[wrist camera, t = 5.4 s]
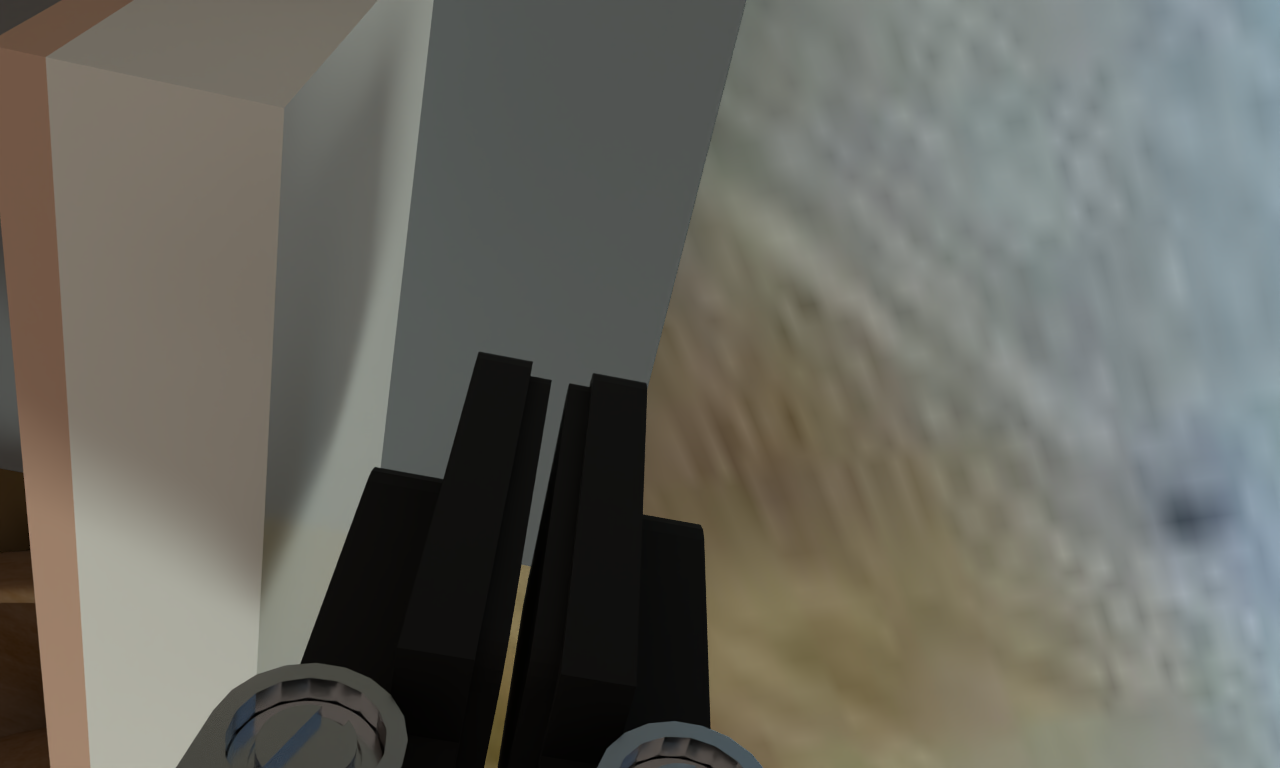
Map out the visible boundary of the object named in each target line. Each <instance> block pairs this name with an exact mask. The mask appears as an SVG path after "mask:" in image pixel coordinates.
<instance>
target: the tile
mask: <svg viewBox="0 0 1280 768" xmlns="http://www.w3.org/2000/svg"><path fill="white" fill-rule="evenodd" d="M433 2H434V0H61V1H59V2H58V3H56V4H54V5H52V6H51V7H49V8H47V9H45V10H44V11H42V12H40V13H38V14H37V15H35V16H33V17H31V18H30V19H28V20H26V21H24V22H23V23H21V24H19V25H17V26H16V27H14V28H12V29H10V30H9V31H7V32H5V33H3V34H2V35H0V219H1V230H2V241H3V252H4V263H5V274H6V285H7V296H8V307H9V318H10V329H11V340H12V351H13V362H14V373H15V384H16V395H17V406H18V417H19V428H20V439H21V450H22V461H23V472H24V483H25V494H26V505H27V516H28V527H29V538H30V549H31V560H32V571H33V582H34V593H35V604H36V615H37V626H38V637H39V648H40V659H41V670H42V681H43V692H44V703H45V714H46V725H47V736H48V747H49V758H50V768H176V767H177V765H178V763H179V762H180V760H181V759H182V757H183V756H184V754H185V753H186V751H187V750H188V748H189V747H190V745H191V743H192V742H193V740H194V739H195V737H196V736H197V734H198V733H199V731H200V730H201V728H202V727H203V725H204V723H205V722H206V720H207V719H208V717H209V716H210V714H211V713H212V711H213V710H214V709H215V708H216V707H217V705H218V704H219V703H220V702H221V701H222V700H223V699H224V698H225V697H226V695H227V694H228V693H229V692H230V691H231V690H232V689H234V688H235V687H237V686H239V685H240V684H242V683H243V682H245V681H247V680H248V679H250V678H252V677H253V676H255V675H257V674H259V673H263V672H266V671H269V670H272V669H275V668H279V667H282V666H285V665H295V664H300V663H301V660H302V657H303V655H304V652H305V649H306V647H307V644H308V641H309V638H310V636H311V633H312V630H313V627H314V625H315V622H316V619H317V616H318V614H319V611H320V608H321V606H322V603H323V600H324V597H325V595H326V592H327V589H328V586H329V584H330V581H331V578H332V575H333V573H334V570H335V567H336V564H337V562H338V559H339V556H340V554H341V551H342V548H343V545H344V543H345V540H346V537H347V534H348V532H349V529H350V526H351V523H352V521H353V518H354V515H355V513H356V510H357V507H358V504H359V502H360V499H361V496H362V493H363V491H364V488H365V485H366V482H367V480H368V478H369V475H370V473H371V471H372V469H373V468H374V467H379V468H381V459H382V450H383V442H384V433H385V424H386V415H387V407H388V398H389V389H390V380H391V371H392V363H393V354H394V345H395V336H396V327H397V319H398V310H399V301H400V292H401V283H402V275H403V266H404V257H405V248H406V239H407V231H408V222H409V213H410V204H411V195H412V187H413V178H414V169H415V160H416V151H417V143H418V134H419V125H420V116H421V107H422V99H423V90H424V81H425V72H426V63H427V55H428V46H429V37H430V28H431V19H432V11H433Z"/></svg>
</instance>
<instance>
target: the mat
mask: <svg viewBox="0 0 1280 768" xmlns="http://www.w3.org/2000/svg"><path fill="white" fill-rule="evenodd" d="M59 1H61V0H0V35H2V34H3V33H5V32H7V31H9V30H10V29H12V28H14V27H16V26H17V25H19V24H21V23H23V22H24V21H26V20H28V19H30V18H31V17H33V16H35V15H37V14H38V13H40V12H42V11H44V10H45V9H47V8H49V7H51V6H52V5H54V4H56V3H58V2H59ZM745 3H746V0H434V2H433V11H432V19H431V28H430V37H429V46H428V55H427V63H426V72H425V81H424V90H423V99H422V107H421V116H420V125H419V134H418V143H417V151H416V160H415V169H414V178H413V187H412V195H411V204H410V213H409V222H408V231H407V239H406V248H405V257H404V266H403V275H402V283H401V292H400V301H399V310H398V319H397V327H396V336H395V345H394V354H393V363H392V371H391V380H390V389H389V398H388V407H387V415H386V424H385V433H384V442H383V450H382V459H381V468H384V469H390V470H395V471H401V472H407V473H412V474H418V475H423V476H429V477H435V478H440V479H443V478H444V475H445V471H446V467H447V464H448V460H449V457H450V453H451V449H452V446H453V442H454V438H455V435H456V431H457V427H458V424H459V420H460V417H461V413H462V409H463V406H464V402H465V398H466V395H467V391H468V388H469V384H470V380H471V377H472V373H473V369H474V366H475V362H476V359H477V355H478V352H479V351H480V352H485V353H490V354H495V355H501V356H506V357H511V358H517V359H522V360H527V361H533V365H532V370H531V376H534V377H539V378H544V379H550V380H552V382H551V388H550V394H549V400H548V407H547V413H546V419H545V425H544V431H543V437H542V443H541V449H540V455H539V461H538V467H537V473H536V479H535V485H534V491H533V497H532V503H531V509H530V515H529V521H528V527H527V533H526V539H525V545H524V551H523V558H522V565H528V566H531V564H532V559H533V554H534V549H535V544H536V540H537V535H538V530H539V525H540V520H541V515H542V511H543V506H544V501H545V496H546V491H547V486H548V481H549V477H550V472H551V467H552V462H553V457H554V452H555V448H556V443H557V438H558V433H559V428H560V423H561V418H562V414H563V409H564V404H565V399H566V394H567V390H568V386H569V383H571V384H576V385H582V386H587V387H589V385H590V381H591V378H592V374H593V373H596V374H602V375H607V376H612V377H618V378H623V379H628V380H634V381H639V382H644V383H646V384H647V388H648V384H649V380H650V376H651V372H652V368H653V364H654V361H655V357H656V353H657V349H658V345H659V341H660V337H661V333H662V329H663V325H664V321H665V317H666V313H667V309H668V306H669V302H670V298H671V294H672V290H673V286H674V282H675V278H676V274H677V270H678V266H679V262H680V258H681V255H682V251H683V247H684V243H685V239H686V235H687V231H688V227H689V223H690V219H691V215H692V211H693V207H694V204H695V200H696V196H697V192H698V188H699V184H700V180H701V176H702V172H703V168H704V164H705V160H706V156H707V153H708V149H709V145H710V141H711V137H712V133H713V129H714V125H715V121H716V117H717V113H718V109H719V105H720V102H721V98H722V94H723V90H724V86H725V82H726V78H727V74H728V70H729V66H730V62H731V58H732V54H733V50H734V47H735V43H736V39H737V35H738V31H739V27H740V23H741V19H742V15H743V11H744V7H745ZM0 468H1V469H6V470H12V471H17V472H22V473H24V472H23V461H22V450H21V439H20V428H19V417H18V406H17V395H16V384H15V373H14V362H13V351H12V340H11V329H10V318H9V307H8V296H7V285H6V274H5V263H4V252H3V241H2V230H1V219H0Z"/></svg>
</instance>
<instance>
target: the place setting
mask: <svg viewBox="0 0 1280 768" xmlns="http://www.w3.org/2000/svg"><path fill="white" fill-rule="evenodd" d="M0 768H50V758H49V747H48V736H47V725H46V714H45V703H44V692H43V681H42V670H41V659H40V648H39V637H38V626H37V615H36V604H35V593H34V582H33V571H32V560H31V550H27V551H16V552H5V553H0Z"/></svg>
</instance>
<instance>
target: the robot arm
mask: <svg viewBox="0 0 1280 768" xmlns="http://www.w3.org/2000/svg"><path fill="white" fill-rule="evenodd" d="M532 365H533V361H527V360H522V359H517V358H511V357H506V356H501V355H495V354H490V353H485V352H480V351H479V352H478V355H477V359H476V362H475V366H474V369H473V373H472V377H471V380H470V384H469V388H468V391H467V395H466V398H465V402H464V406H463V409H462V413H461V417H460V420H459V424H458V427H457V431H456V435H455V438H454V442H453V446H452V449H451V453H450V457H449V460H448V464H447V467H446V471H445V475H444V478H443V479H440V478H435V477H429V476H423V475H418V474H412V473H407V472H401V471H395V470H390V469H384V468H379V467H374V468H373V469H372V471H371V473H370V475H369V478H368V480H367V482H366V485H365V488H364V491H363V493H362V496H361V499H360V502H359V504H358V507H357V510H356V513H355V515H354V518H353V521H352V523H351V526H350V529H349V532H348V534H347V537H346V540H345V543H344V545H343V548H342V551H341V554H340V556H339V559H338V562H337V564H336V567H335V570H334V573H333V575H332V578H331V581H330V584H329V586H328V589H327V592H326V595H325V597H324V600H323V603H322V606H321V608H320V611H319V614H318V616H317V619H316V622H315V625H314V627H313V630H312V633H311V636H310V638H309V641H308V644H307V647H306V649H305V652H304V655H303V657H302V660H301V663H300V664H295V665H285V666H282V667H279V668H275V669H272V670H269V671H266V672H263V673H259V674H257V675H255V676H253V677H252V678H250V679H248V680H247V681H245V682H243V683H242V684H240V685H239V686H237V687H235V688H234V689H232V690H231V691H230V692H229V693H228V694H227V695H226V697H225V698H224V699H223V700H222V701H221V702H220V703H219V704H218V705H217V707H216V708H215V709H214V710H213V711H212V713H211V714H210V716H209V717H208V719H207V720H206V722H205V723H204V725H203V727H202V728H201V730H200V731H199V733H198V734H197V736H196V737H195V739H194V740H193V742H192V743H191V745H190V747H189V748H188V750H187V751H186V753H185V754H184V756H183V757H182V759H181V760H180V762H179V763H178V765H177V767H176V768H484V765H485V760H486V755H487V750H488V745H489V740H490V735H491V730H492V725H493V720H494V715H495V710H496V705H497V700H498V696H499V690H500V685H501V680H502V675H503V670H504V664H505V659H506V653H507V648H508V642H509V636H510V630H511V624H512V618H513V612H514V606H515V600H516V594H517V588H518V582H519V576H520V570H521V564H522V558H523V551H524V545H525V539H526V533H527V527H528V521H529V515H530V509H531V503H532V497H533V491H534V485H535V479H536V473H537V467H538V461H539V455H540V449H541V443H542V437H543V431H544V425H545V419H546V413H547V407H548V400H549V394H550V388H551V382H552V380H550V379H544V378H539V377H534V376H531V370H532ZM646 408H647V384H646V383H644V382H639V381H634V380H628V379H623V378H618V377H612V376H607V375H602V374H596V373H593V374H592V378H591V381H590V385H589V387H587V386H582V385H576V384H571V383H569V386H568V390H567V394H566V399H565V404H564V409H563V414H562V418H561V423H560V428H559V433H558V438H557V443H556V448H555V452H554V457H553V462H552V467H551V472H550V477H549V481H548V486H547V491H546V496H545V501H544V506H543V511H542V515H541V520H540V525H539V530H538V535H537V540H536V544H535V549H534V554H533V559H532V564H531V569H530V574H529V578H528V583H527V588H526V594H525V599H524V604H523V610H522V616H521V622H520V628H519V635H518V641H517V647H516V654H515V660H514V667H513V673H512V679H511V686H510V692H509V699H508V705H507V711H506V718H505V724H504V730H503V737H502V743H501V750H500V756H499V762H498V768H763V767H762V766H761V765H760V764H759V762H758V761H757V760H756V759H755V757H754V756H753V755H752V754H751V753H750V752H748V751H747V750H746V749H744V748H743V747H741V746H740V745H739V744H737V743H736V742H735V741H733V740H732V739H731V738H729V737H727V736H725V735H723V734H720V733H718V732H716V731H713V730H711V729H710V700H709V670H708V640H707V610H706V580H705V550H704V534H703V529H702V527H701V525H699V524H693V523H687V522H682V521H676V520H671V519H665V518H659V517H654V516H648V515H643V491H644V463H645V435H646Z"/></svg>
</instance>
